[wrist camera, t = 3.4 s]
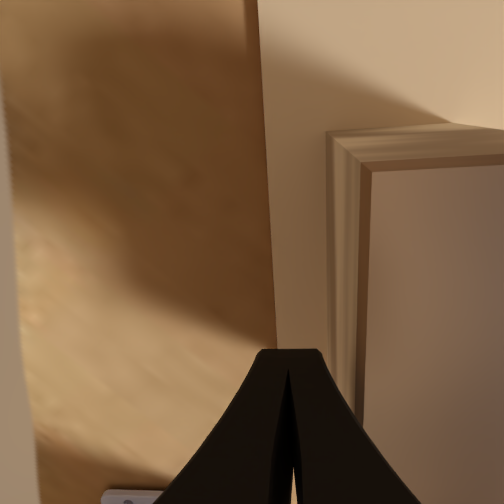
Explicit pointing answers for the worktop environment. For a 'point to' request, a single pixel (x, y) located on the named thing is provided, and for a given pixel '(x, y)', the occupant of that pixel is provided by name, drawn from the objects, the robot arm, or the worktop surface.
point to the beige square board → (358, 112)
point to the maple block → (421, 300)
